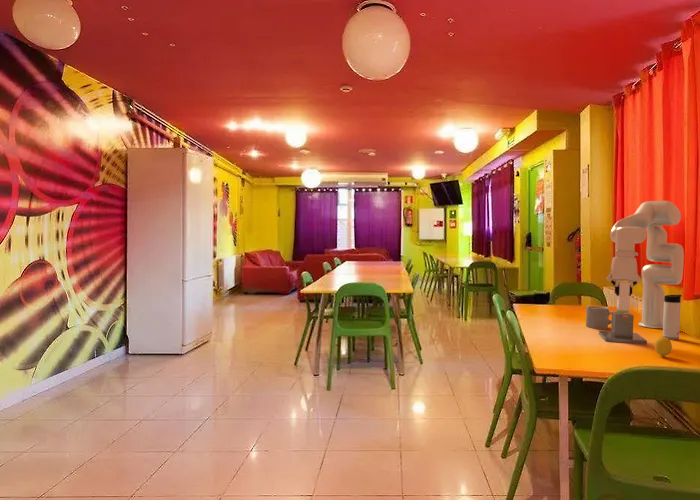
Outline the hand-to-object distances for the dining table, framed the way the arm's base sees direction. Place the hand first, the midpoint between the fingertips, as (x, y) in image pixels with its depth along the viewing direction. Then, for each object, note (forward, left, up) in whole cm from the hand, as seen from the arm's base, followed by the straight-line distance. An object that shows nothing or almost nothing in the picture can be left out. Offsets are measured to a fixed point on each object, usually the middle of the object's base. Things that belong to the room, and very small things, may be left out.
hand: (623, 295), depth 220 cm
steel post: (0, 0, -12) cm, 12 cm away
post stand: (0, 0, -20) cm, 20 cm away
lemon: (+30, +8, -20) cm, 37 cm away
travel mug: (-9, +22, -20) cm, 31 cm away
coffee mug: (-26, -4, -20) cm, 33 cm away
